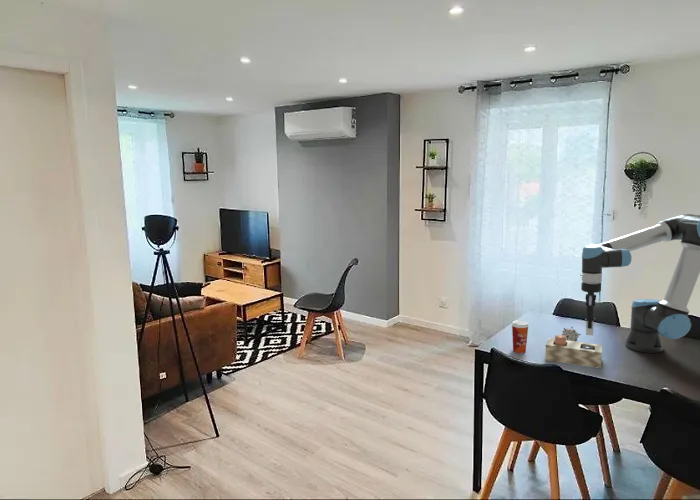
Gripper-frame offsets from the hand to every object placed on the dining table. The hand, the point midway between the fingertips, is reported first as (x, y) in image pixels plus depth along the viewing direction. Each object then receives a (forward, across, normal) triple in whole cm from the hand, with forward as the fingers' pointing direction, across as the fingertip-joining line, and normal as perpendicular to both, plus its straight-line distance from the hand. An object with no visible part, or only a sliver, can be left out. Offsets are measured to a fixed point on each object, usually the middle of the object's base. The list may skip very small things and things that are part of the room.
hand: (589, 334), depth 203 cm
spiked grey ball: (+13, -21, -9) cm, 26 cm away
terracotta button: (+8, 0, -12) cm, 14 cm away
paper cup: (+12, -1, -29) cm, 32 cm away
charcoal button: (+11, 0, -1) cm, 11 cm away
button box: (+13, 0, -6) cm, 14 cm away
